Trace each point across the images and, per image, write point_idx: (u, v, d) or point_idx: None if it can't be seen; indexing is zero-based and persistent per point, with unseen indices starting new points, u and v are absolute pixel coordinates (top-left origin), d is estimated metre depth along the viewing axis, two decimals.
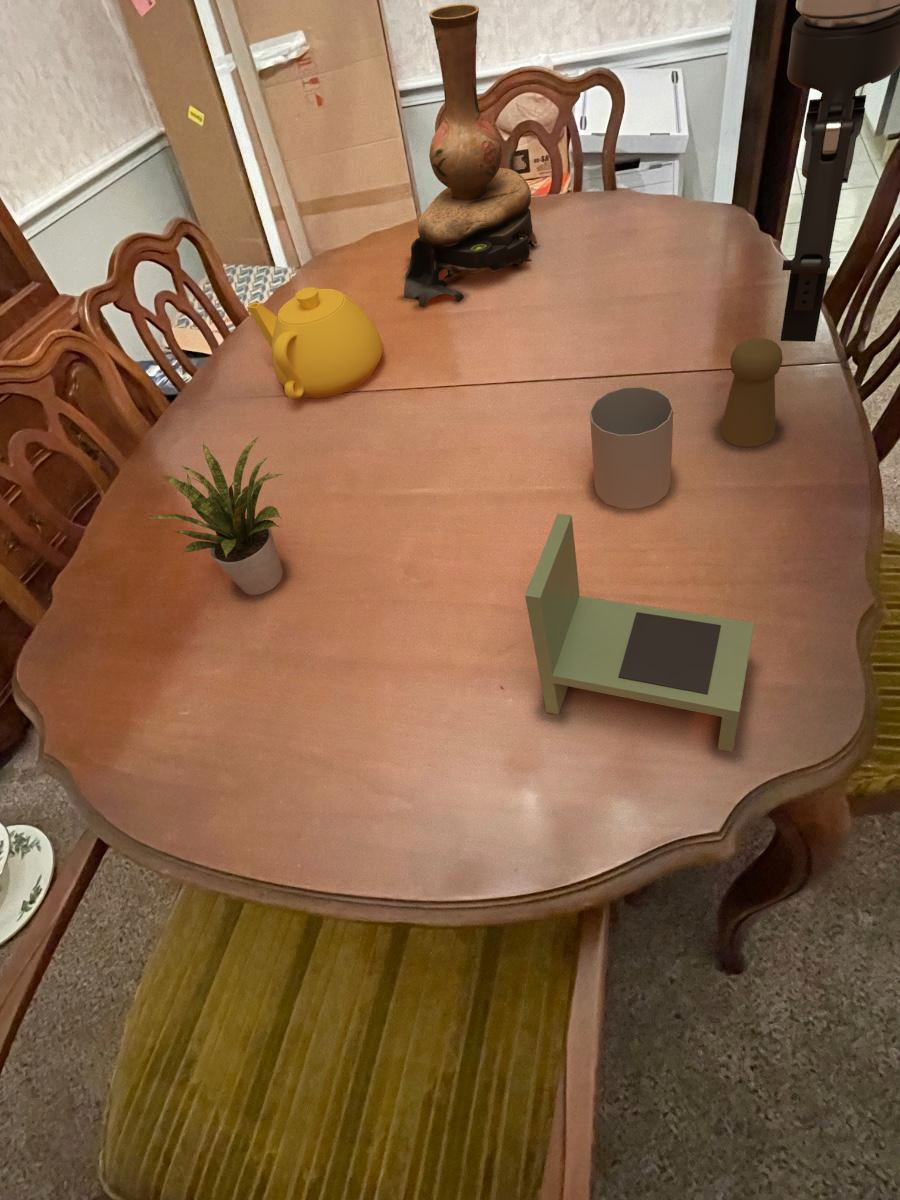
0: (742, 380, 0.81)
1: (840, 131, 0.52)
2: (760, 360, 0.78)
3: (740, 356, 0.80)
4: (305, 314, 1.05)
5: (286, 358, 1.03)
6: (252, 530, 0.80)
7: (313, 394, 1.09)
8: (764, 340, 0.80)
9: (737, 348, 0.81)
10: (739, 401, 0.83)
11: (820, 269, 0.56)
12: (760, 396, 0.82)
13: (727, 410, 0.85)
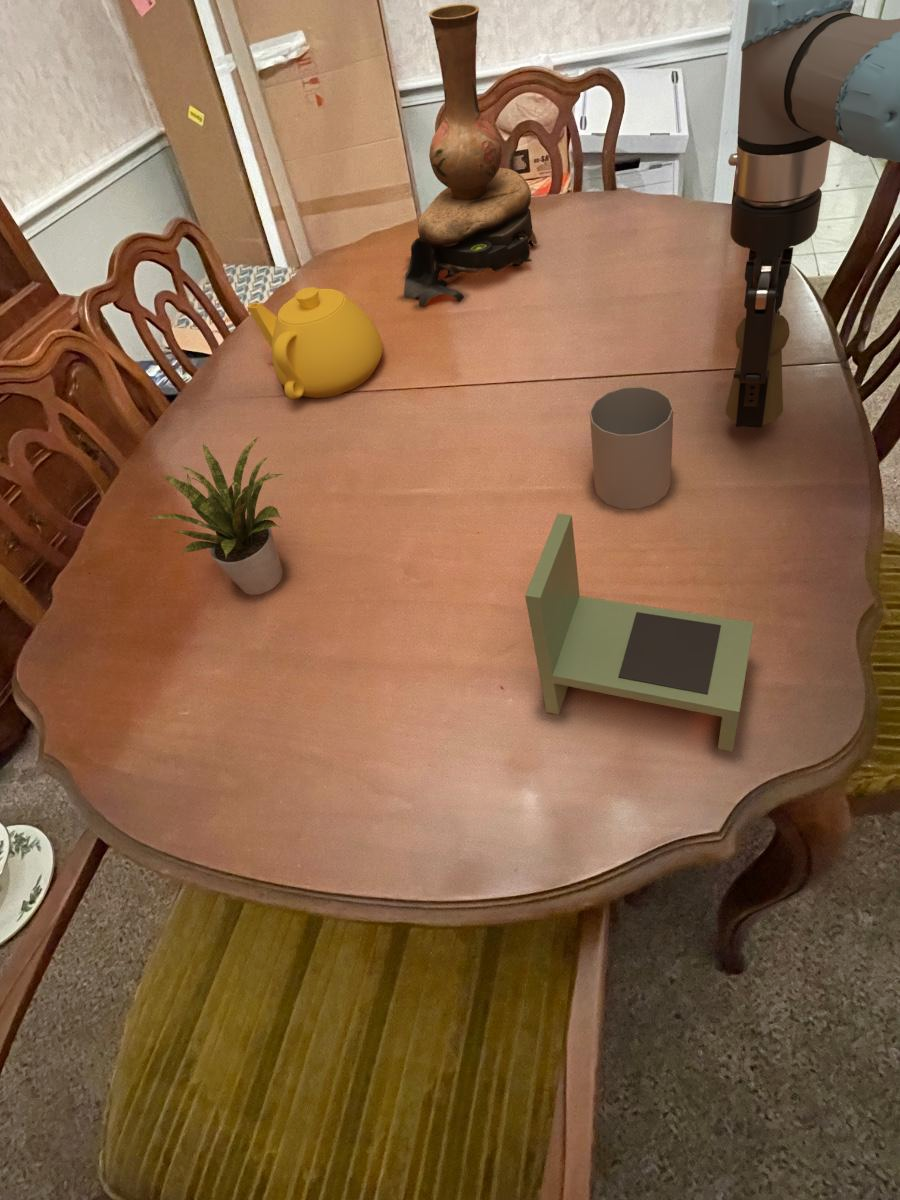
0: None
1: (766, 299, 0.69)
2: None
3: None
4: (305, 314, 1.05)
5: (286, 358, 1.03)
6: (252, 530, 0.80)
7: (313, 394, 1.09)
8: None
9: (742, 322, 0.78)
10: None
11: (760, 381, 0.75)
12: None
13: (733, 388, 0.83)
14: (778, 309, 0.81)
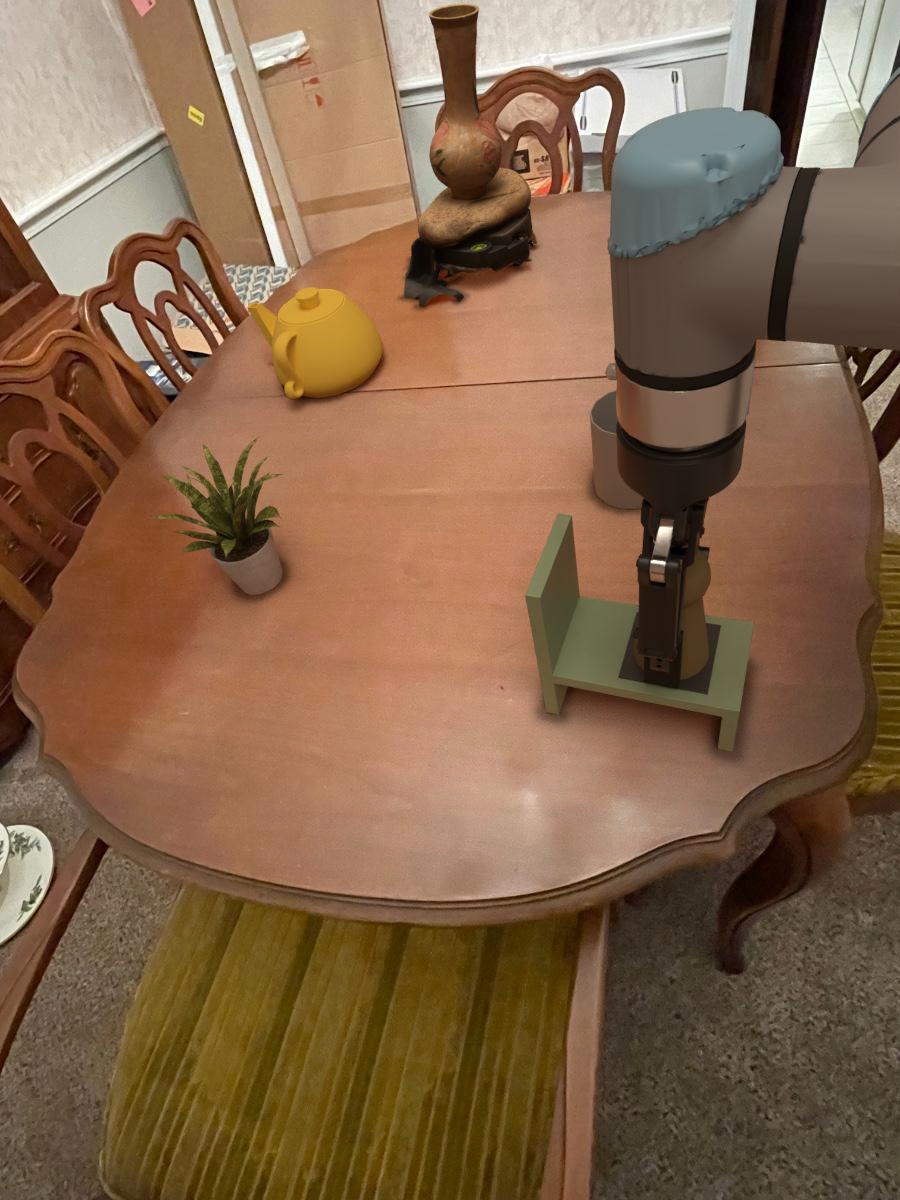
0: None
1: (665, 574, 0.46)
2: None
3: None
4: (305, 314, 1.05)
5: (286, 358, 1.03)
6: (252, 530, 0.80)
7: (313, 394, 1.09)
8: None
9: None
10: None
11: (666, 658, 0.52)
12: (682, 625, 0.56)
13: None
14: (701, 528, 0.58)
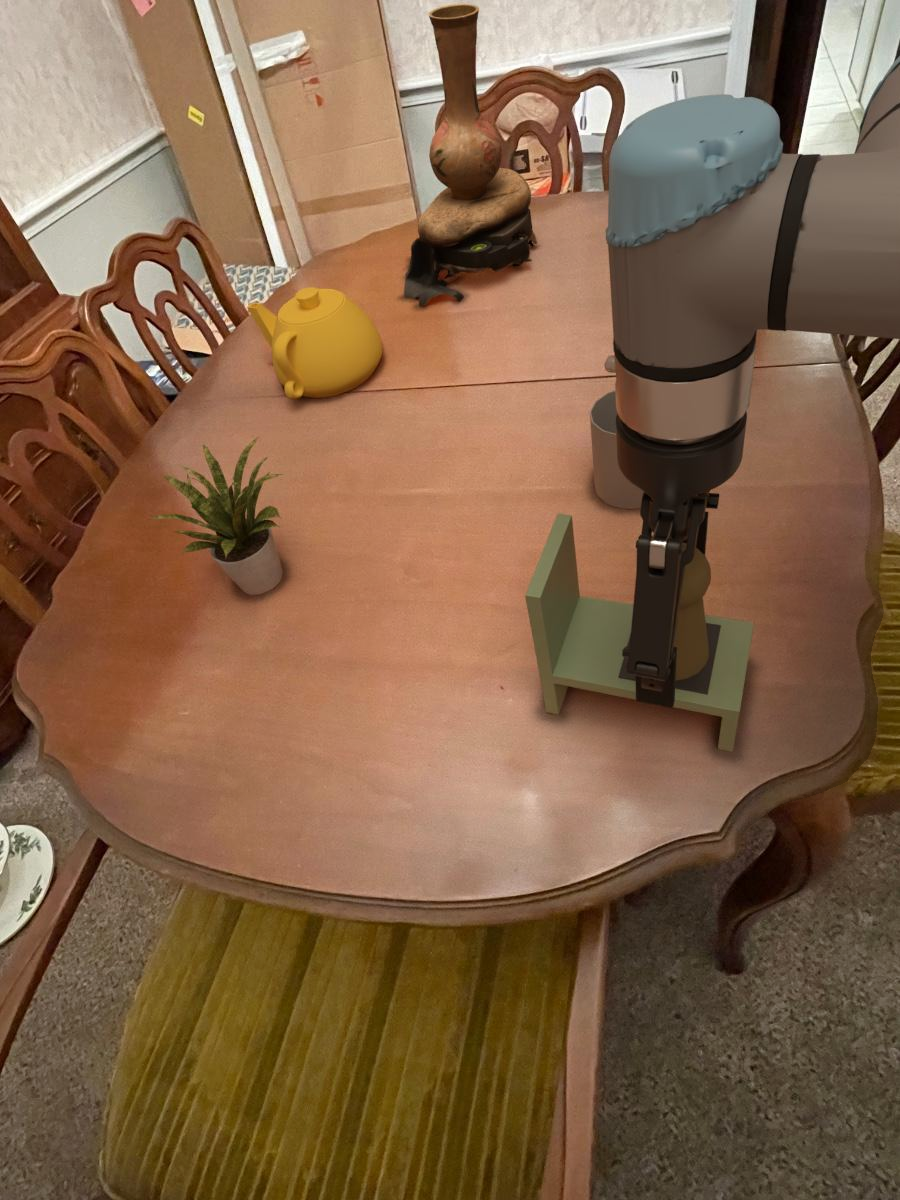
0: None
1: (666, 553, 0.44)
2: None
3: None
4: (305, 314, 1.05)
5: (286, 358, 1.03)
6: (252, 530, 0.80)
7: (313, 394, 1.09)
8: (684, 548, 0.55)
9: None
10: None
11: (657, 678, 0.48)
12: (682, 624, 0.56)
13: None
14: None
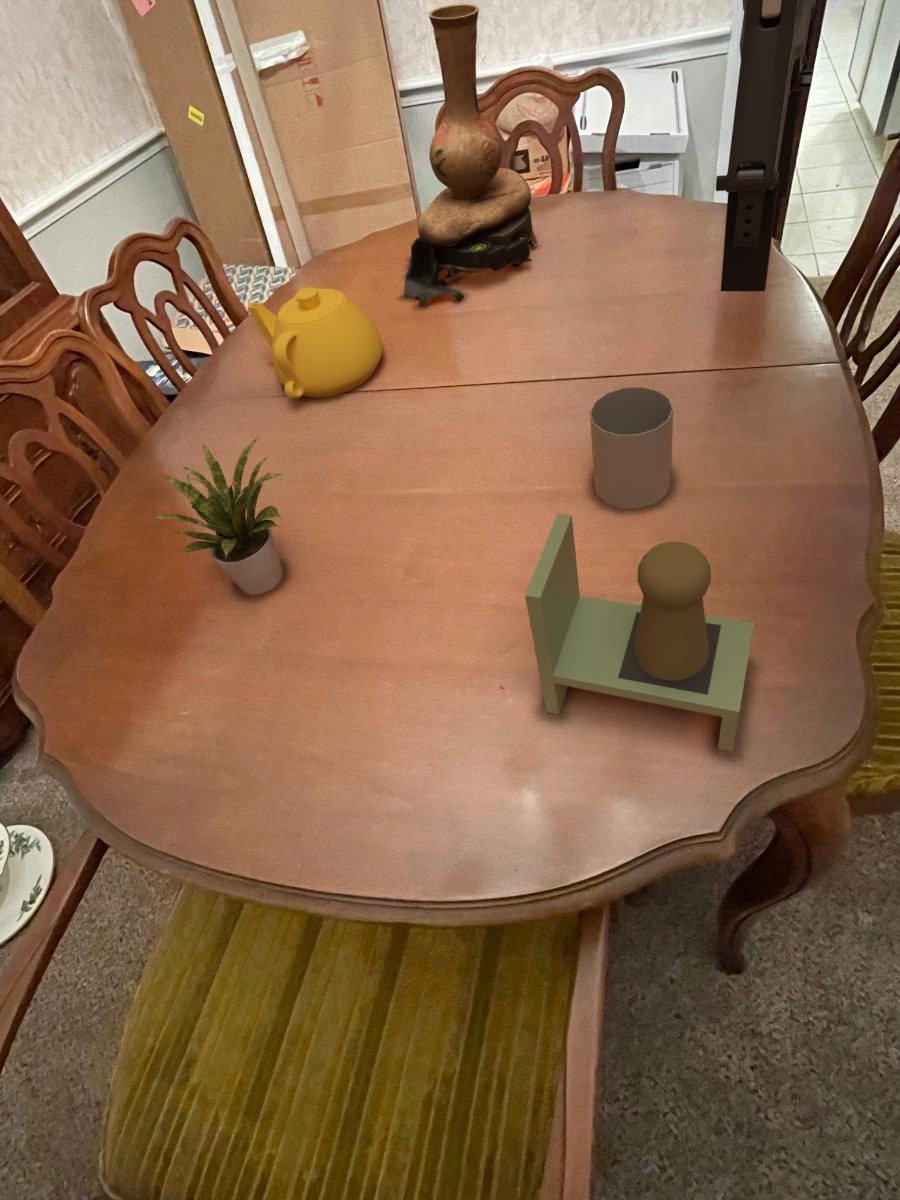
0: (654, 603, 0.55)
1: None
2: (676, 585, 0.53)
3: (648, 573, 0.54)
4: (305, 314, 1.05)
5: (286, 358, 1.03)
6: (252, 530, 0.80)
7: (313, 394, 1.09)
8: (684, 548, 0.55)
9: (645, 559, 0.55)
10: (653, 627, 0.57)
11: (763, 183, 0.41)
12: (682, 624, 0.56)
13: (639, 630, 0.60)
14: (803, 54, 0.51)
